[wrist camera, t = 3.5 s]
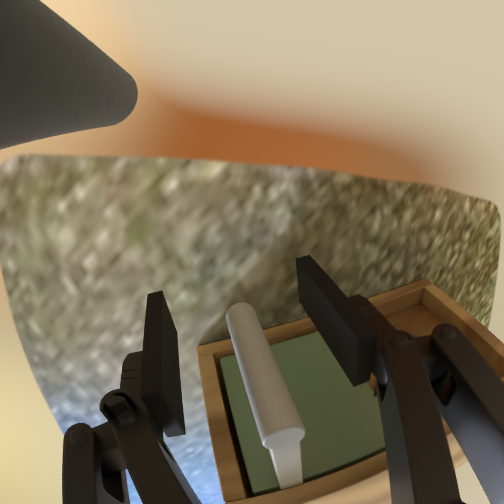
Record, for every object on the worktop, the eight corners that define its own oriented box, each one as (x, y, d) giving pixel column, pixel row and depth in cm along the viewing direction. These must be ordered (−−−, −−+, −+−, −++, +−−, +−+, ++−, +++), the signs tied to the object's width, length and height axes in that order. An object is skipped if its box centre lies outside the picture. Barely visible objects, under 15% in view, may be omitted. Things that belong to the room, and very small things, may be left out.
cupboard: (196, 346, 20) (227, 521, 9) (425, 277, 22) (531, 369, 12) (231, 437, 25) (263, 552, 15) (403, 378, 28) (466, 461, 17)
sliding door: (197, 281, 16) (226, 443, 8) (327, 250, 18) (439, 363, 9) (221, 366, 19) (256, 502, 11) (329, 335, 20) (402, 448, 12)
